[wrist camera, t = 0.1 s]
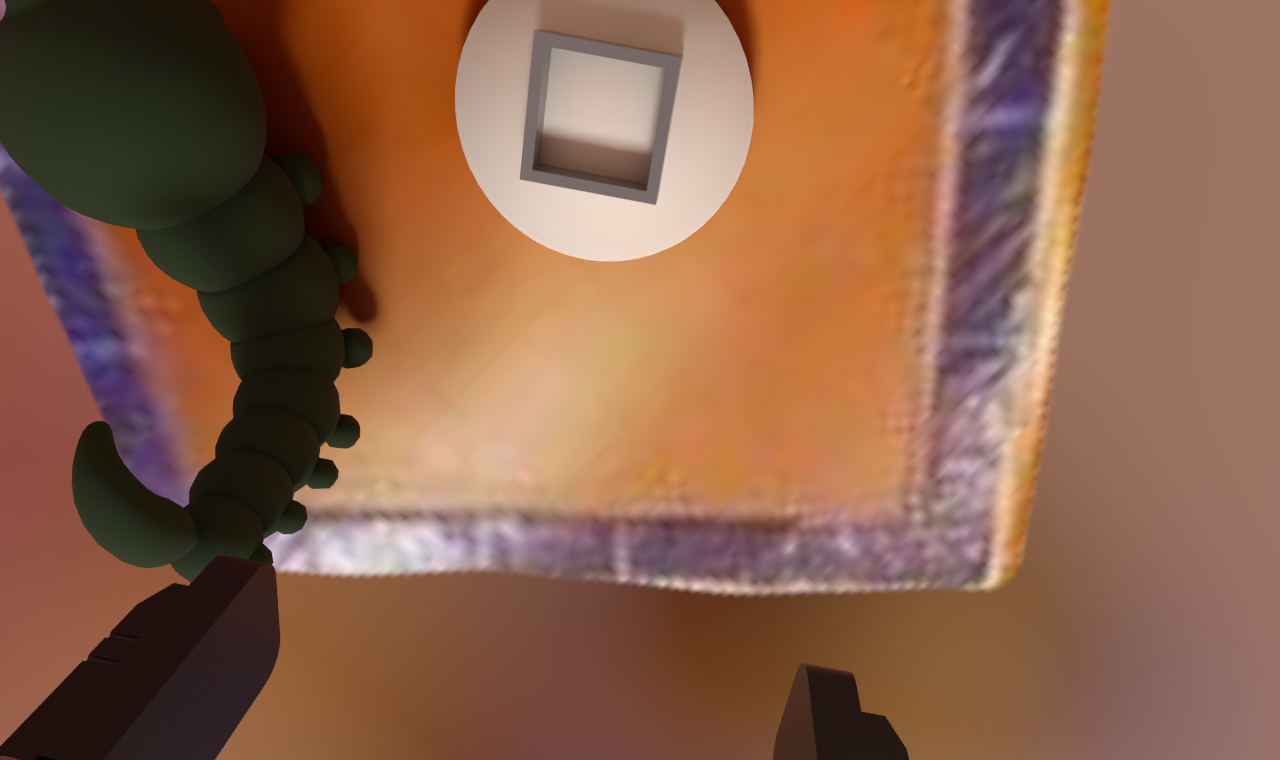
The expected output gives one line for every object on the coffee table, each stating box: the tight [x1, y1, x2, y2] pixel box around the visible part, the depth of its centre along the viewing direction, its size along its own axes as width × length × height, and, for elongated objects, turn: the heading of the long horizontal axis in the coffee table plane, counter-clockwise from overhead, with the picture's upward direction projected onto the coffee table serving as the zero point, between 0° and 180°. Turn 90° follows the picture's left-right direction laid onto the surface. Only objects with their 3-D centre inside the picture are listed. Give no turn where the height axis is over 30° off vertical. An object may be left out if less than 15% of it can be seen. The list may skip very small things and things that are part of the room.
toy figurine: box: [0, 0, 373, 583], centre depth 32 cm, size 9×19×25 cm
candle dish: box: [455, 0, 754, 261], centre depth 35 cm, size 13×13×4 cm
